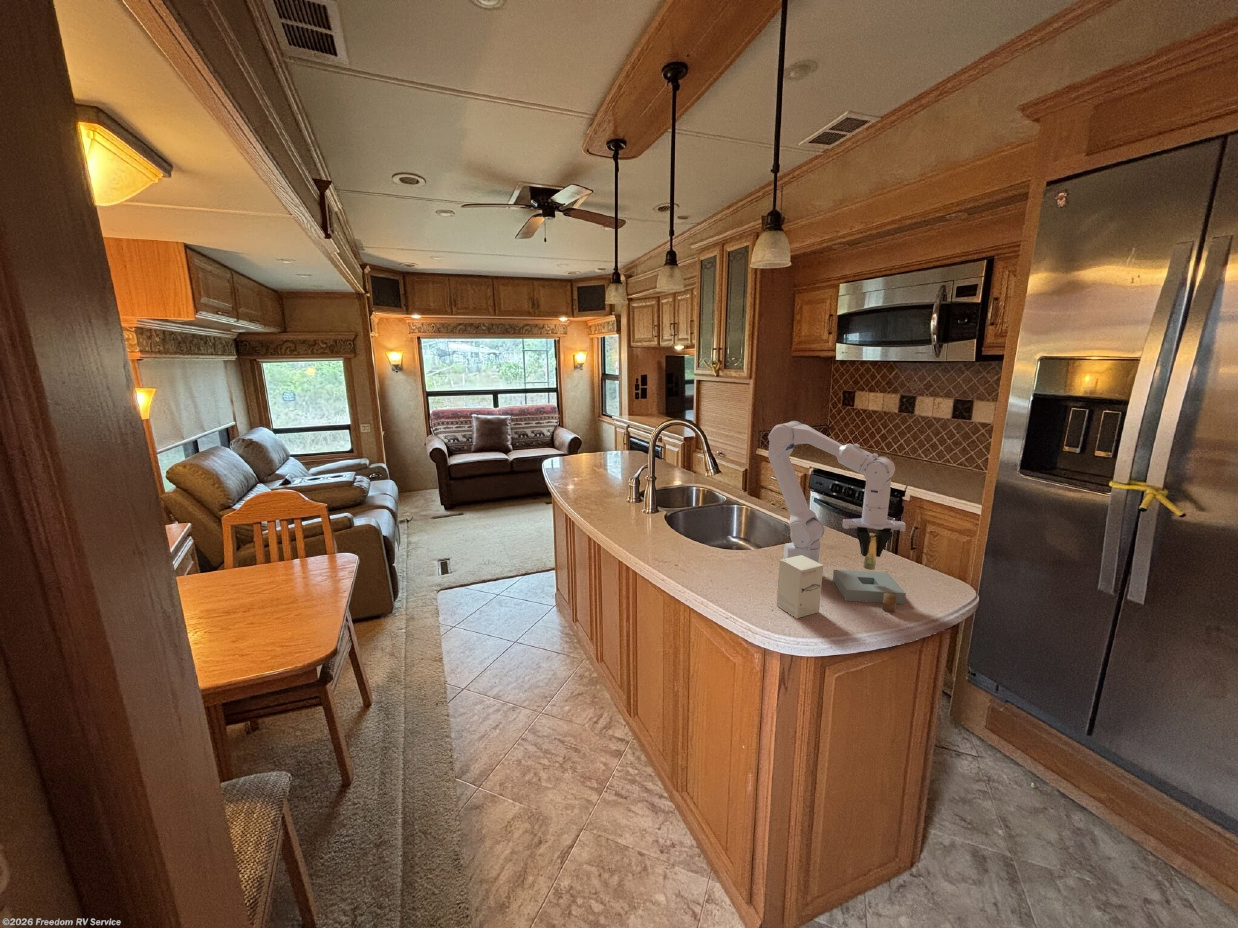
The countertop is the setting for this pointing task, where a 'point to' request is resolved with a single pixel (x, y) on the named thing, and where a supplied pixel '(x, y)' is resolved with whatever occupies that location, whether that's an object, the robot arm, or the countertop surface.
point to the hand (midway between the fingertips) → (870, 555)
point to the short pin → (889, 602)
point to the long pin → (871, 552)
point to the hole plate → (867, 586)
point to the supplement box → (799, 586)
